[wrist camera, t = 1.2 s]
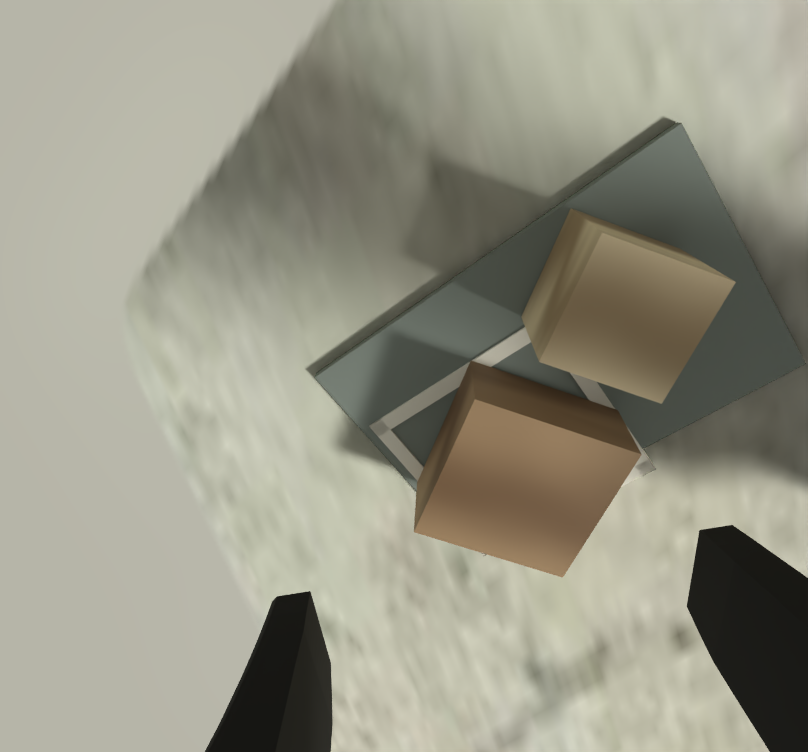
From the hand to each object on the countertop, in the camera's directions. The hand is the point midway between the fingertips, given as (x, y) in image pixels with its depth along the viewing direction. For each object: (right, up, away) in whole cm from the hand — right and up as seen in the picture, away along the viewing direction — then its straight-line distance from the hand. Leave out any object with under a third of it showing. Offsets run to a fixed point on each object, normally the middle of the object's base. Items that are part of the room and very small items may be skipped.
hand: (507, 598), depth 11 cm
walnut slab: (+2, +1, +12) cm, 13 cm away
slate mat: (+4, +5, +11) cm, 13 cm away
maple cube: (+5, +7, +9) cm, 13 cm away
